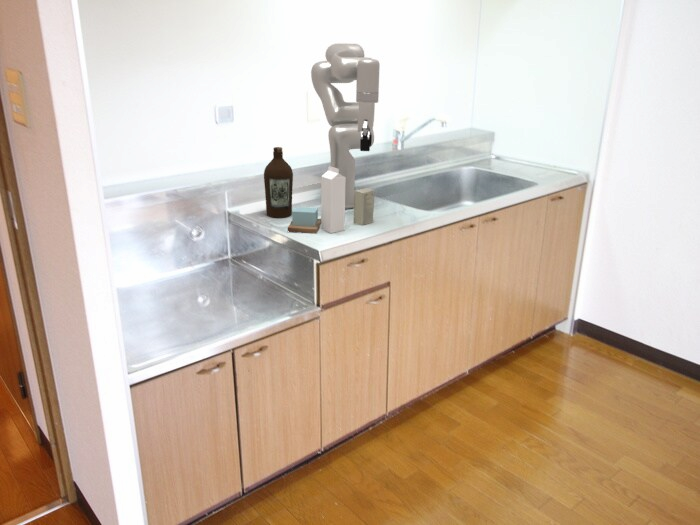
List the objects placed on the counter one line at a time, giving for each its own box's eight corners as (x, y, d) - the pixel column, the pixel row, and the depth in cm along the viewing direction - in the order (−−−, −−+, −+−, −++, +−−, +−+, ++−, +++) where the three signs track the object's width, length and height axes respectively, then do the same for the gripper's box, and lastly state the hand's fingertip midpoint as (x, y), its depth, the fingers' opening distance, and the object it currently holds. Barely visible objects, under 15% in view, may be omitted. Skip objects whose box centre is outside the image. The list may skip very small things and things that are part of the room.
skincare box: (365, 219, 227) (366, 187, 223) (373, 222, 224) (375, 189, 220) (352, 222, 223) (353, 190, 219) (361, 225, 220) (362, 192, 216)
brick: (295, 220, 219) (295, 206, 217) (317, 221, 219) (317, 207, 217) (292, 225, 214) (292, 211, 212) (315, 226, 213) (315, 212, 211)
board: (293, 221, 223) (293, 217, 222) (321, 223, 222) (321, 219, 221) (287, 232, 211) (287, 227, 211) (316, 233, 211) (316, 229, 210)
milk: (330, 233, 211) (331, 170, 203) (320, 229, 216) (320, 166, 208) (345, 230, 215) (346, 168, 206) (334, 226, 219) (335, 164, 211)
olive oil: (263, 211, 234) (261, 145, 225) (291, 210, 237) (290, 144, 228) (266, 219, 225) (264, 150, 216) (295, 218, 227) (294, 150, 218)
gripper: (358, 94, 216) (357, 143, 222) (354, 99, 200) (352, 152, 206) (379, 95, 215) (377, 144, 221) (377, 100, 199) (375, 153, 205)
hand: (365, 148), depth 214 cm, fingers open, 9 cm apart
